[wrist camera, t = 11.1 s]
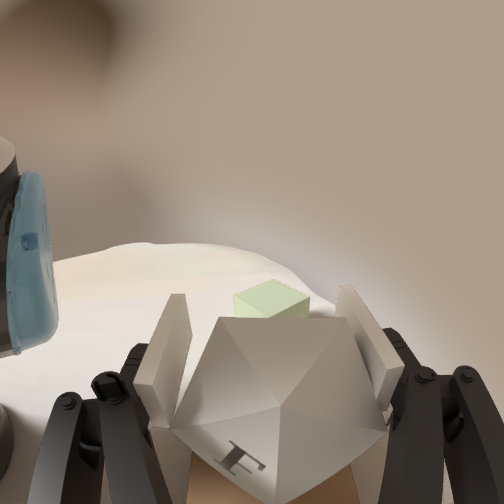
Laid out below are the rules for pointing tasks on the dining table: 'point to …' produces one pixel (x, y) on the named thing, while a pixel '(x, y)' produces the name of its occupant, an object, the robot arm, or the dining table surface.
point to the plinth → (238, 500)
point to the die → (279, 404)
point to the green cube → (271, 302)
